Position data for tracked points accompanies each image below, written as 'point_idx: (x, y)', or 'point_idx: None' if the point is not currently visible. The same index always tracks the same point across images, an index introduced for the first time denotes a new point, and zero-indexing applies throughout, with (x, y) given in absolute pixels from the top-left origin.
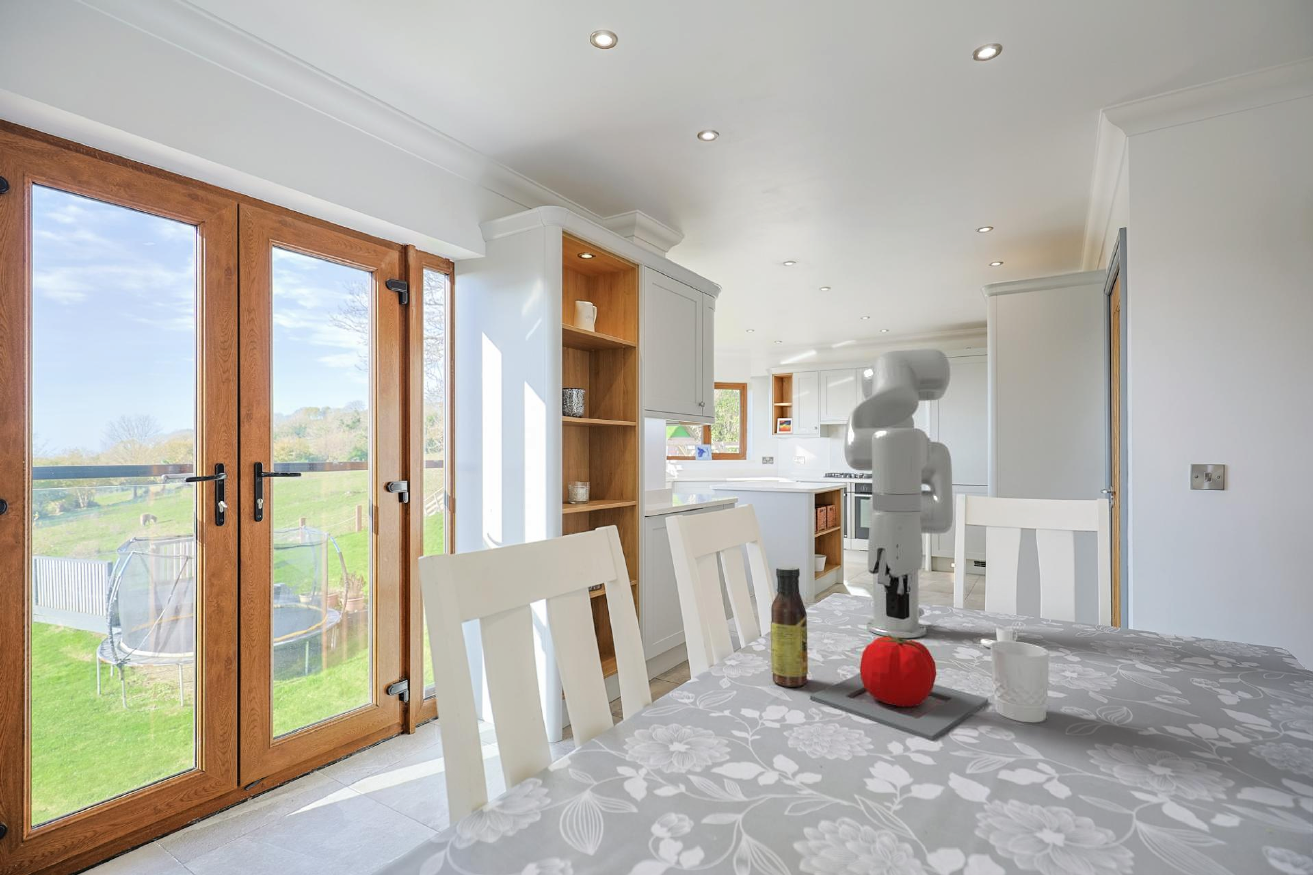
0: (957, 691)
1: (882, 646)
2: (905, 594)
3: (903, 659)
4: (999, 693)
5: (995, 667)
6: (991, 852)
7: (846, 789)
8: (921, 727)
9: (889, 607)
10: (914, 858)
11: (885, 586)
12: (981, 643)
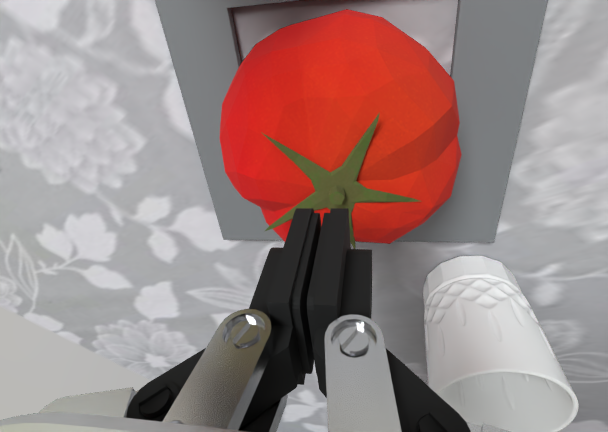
0: (499, 184)
1: (242, 171)
2: (298, 383)
3: (266, 218)
4: (435, 300)
5: (444, 340)
6: (87, 339)
7: (7, 223)
8: (237, 216)
9: (267, 263)
10: (14, 308)
11: (175, 372)
12: None
